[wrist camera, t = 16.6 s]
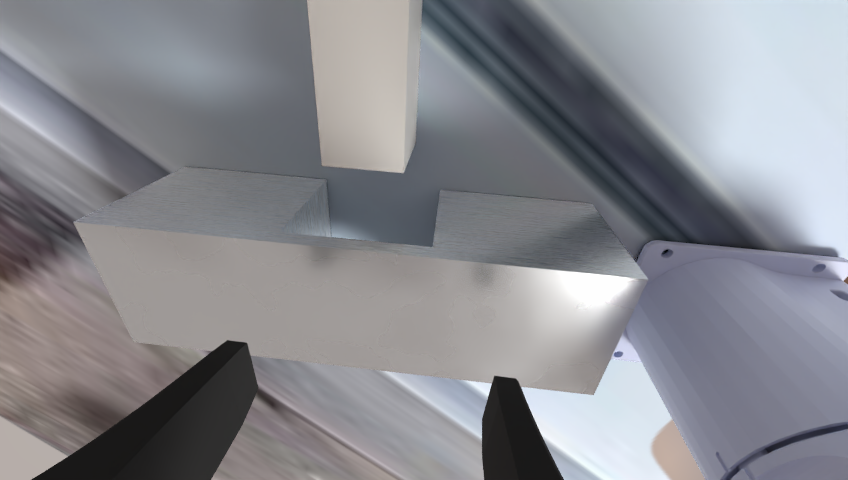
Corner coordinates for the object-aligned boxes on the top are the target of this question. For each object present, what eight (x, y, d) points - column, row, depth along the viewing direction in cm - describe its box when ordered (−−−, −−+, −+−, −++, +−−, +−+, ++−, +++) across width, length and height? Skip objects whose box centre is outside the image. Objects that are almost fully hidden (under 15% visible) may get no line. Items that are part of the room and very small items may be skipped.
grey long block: (591, 203, 17) (648, 279, 12) (559, 300, 20) (593, 394, 15) (185, 166, 18) (73, 222, 13) (214, 265, 21) (133, 341, 16)
